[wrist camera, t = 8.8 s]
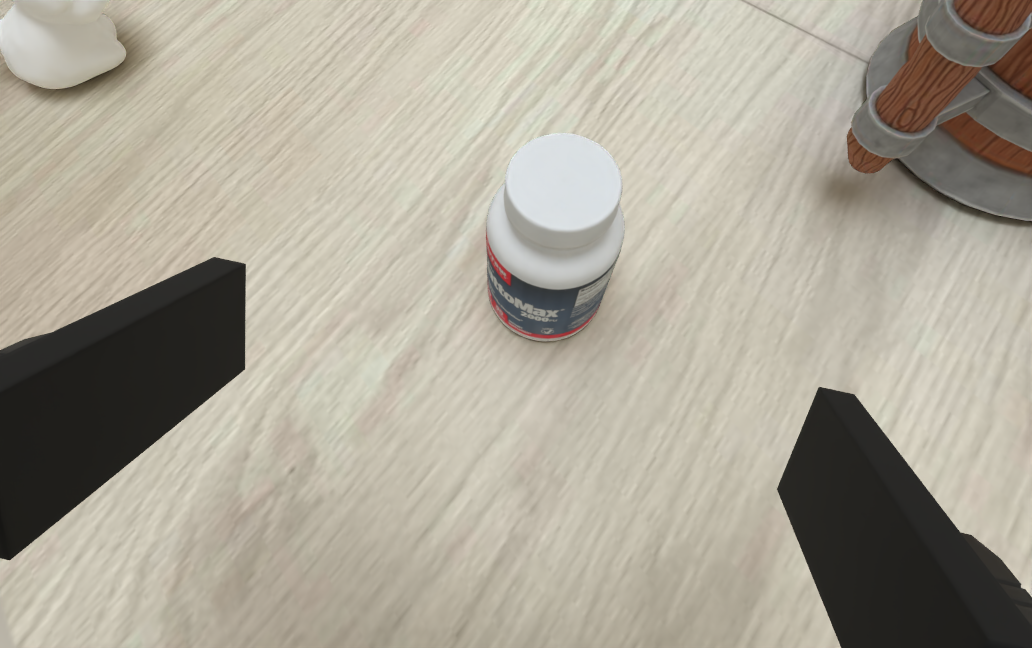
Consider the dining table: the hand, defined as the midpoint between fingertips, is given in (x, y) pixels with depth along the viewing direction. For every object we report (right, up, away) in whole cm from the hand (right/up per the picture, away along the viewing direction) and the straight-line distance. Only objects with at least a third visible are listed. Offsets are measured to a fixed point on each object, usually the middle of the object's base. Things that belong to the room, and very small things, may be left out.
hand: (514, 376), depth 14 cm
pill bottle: (+1, +3, +15) cm, 15 cm away
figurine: (-23, +15, +20) cm, 34 cm away
